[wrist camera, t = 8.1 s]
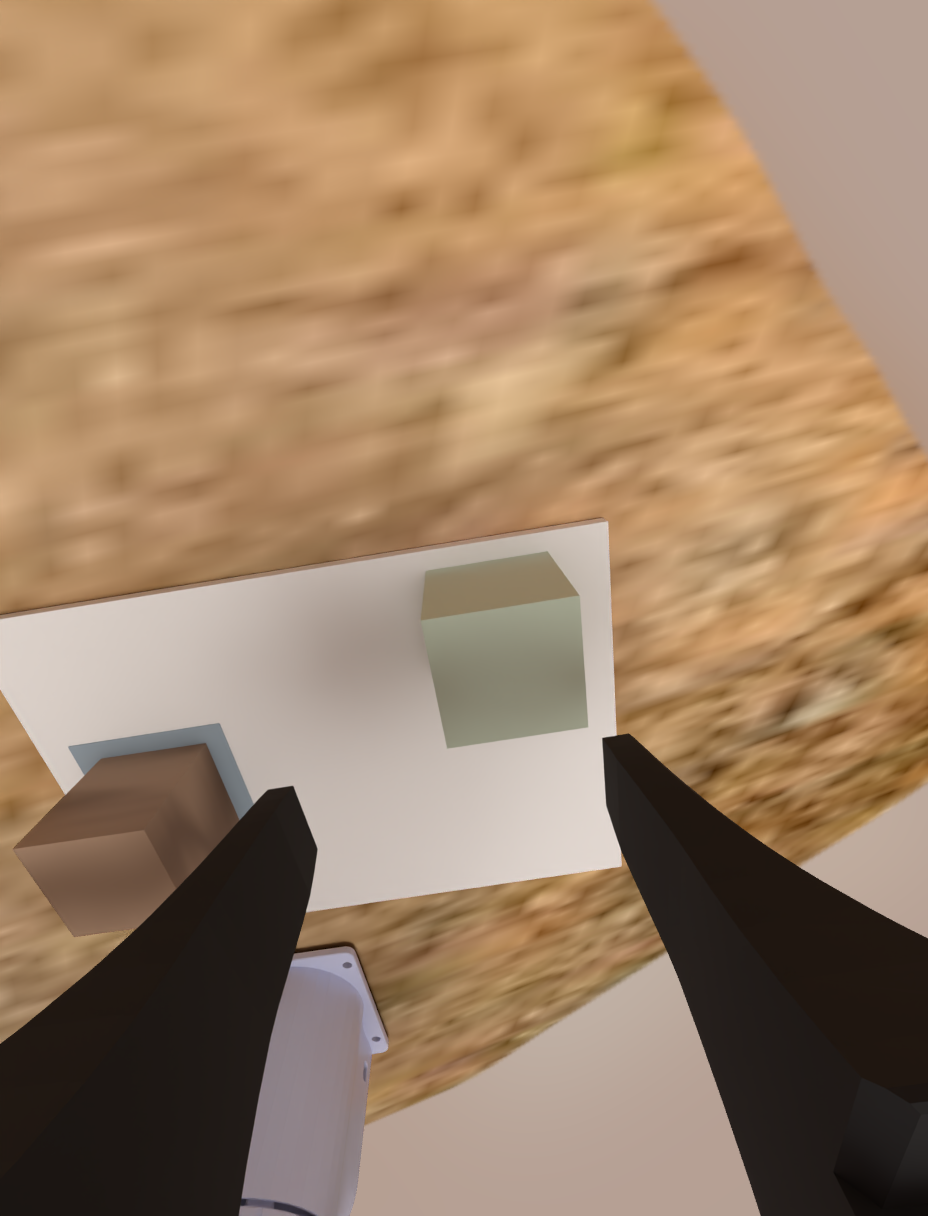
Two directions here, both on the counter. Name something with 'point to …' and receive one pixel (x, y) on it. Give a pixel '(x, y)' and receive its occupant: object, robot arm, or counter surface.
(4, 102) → the counter surface
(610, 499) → the counter surface
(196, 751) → the walnut block
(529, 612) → the sage block
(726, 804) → the counter surface
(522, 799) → the board
